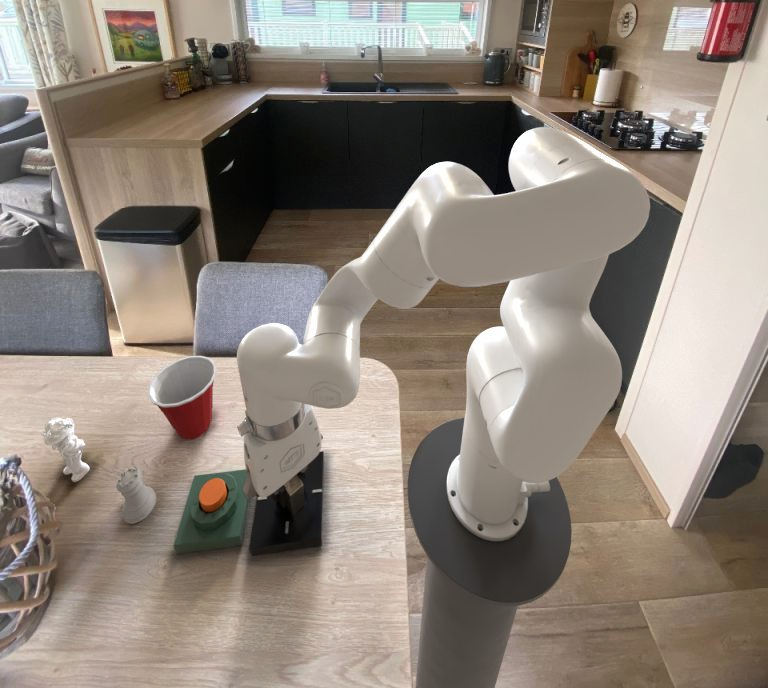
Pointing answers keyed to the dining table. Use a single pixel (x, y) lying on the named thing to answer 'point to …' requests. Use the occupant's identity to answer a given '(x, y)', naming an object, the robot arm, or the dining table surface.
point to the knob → (294, 494)
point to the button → (213, 495)
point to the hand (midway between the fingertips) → (289, 490)
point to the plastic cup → (185, 394)
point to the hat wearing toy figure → (66, 446)
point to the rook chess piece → (135, 495)
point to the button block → (213, 516)
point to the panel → (291, 518)
